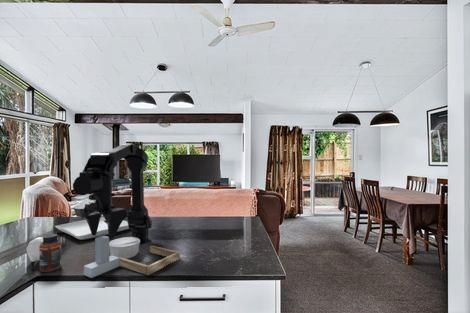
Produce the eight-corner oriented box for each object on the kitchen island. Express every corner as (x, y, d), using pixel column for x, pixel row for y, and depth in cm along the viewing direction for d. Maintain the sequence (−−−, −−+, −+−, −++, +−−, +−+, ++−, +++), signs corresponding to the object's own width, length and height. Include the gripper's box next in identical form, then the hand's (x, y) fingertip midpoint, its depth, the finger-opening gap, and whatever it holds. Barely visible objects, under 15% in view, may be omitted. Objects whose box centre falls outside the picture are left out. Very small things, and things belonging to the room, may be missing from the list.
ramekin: (129, 262, 93) (129, 247, 93) (101, 259, 95) (101, 245, 95) (145, 251, 104) (145, 237, 104) (120, 248, 106) (120, 236, 106)
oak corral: (151, 251, 103) (151, 245, 103) (179, 258, 96) (179, 252, 96) (118, 265, 90) (118, 258, 90) (148, 275, 83) (148, 267, 83)
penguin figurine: (24, 239, 91) (49, 232, 103) (22, 264, 90) (48, 254, 102) (42, 239, 91) (65, 232, 103) (41, 264, 90) (64, 254, 102)
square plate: (77, 244, 112) (77, 235, 112) (54, 232, 129) (54, 225, 129) (134, 230, 134) (134, 222, 134) (108, 221, 150) (108, 215, 150)
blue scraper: (83, 275, 83) (83, 241, 83) (112, 263, 92) (112, 232, 92) (91, 278, 81) (91, 243, 81) (119, 266, 90) (119, 234, 90)
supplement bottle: (65, 265, 90) (65, 232, 90) (53, 272, 84) (53, 238, 84) (47, 265, 90) (47, 232, 90) (34, 273, 84) (34, 238, 84)
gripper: (61, 191, 84) (61, 239, 84) (96, 196, 75) (96, 250, 75) (94, 187, 94) (94, 231, 94) (129, 191, 84) (129, 239, 85)
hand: (102, 237), depth 86 cm, fingers open, 9 cm apart
